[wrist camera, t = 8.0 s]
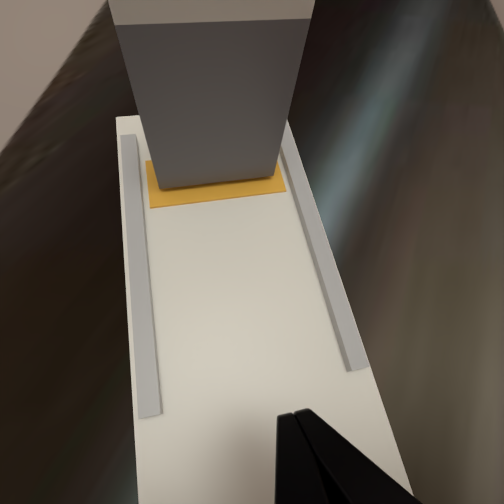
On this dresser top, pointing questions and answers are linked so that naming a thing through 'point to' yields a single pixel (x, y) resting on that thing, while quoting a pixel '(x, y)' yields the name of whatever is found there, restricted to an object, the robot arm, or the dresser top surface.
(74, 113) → the dresser top surface
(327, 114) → the dresser top surface
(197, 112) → the fader tab
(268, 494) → the white slider track base
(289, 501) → the robot arm
